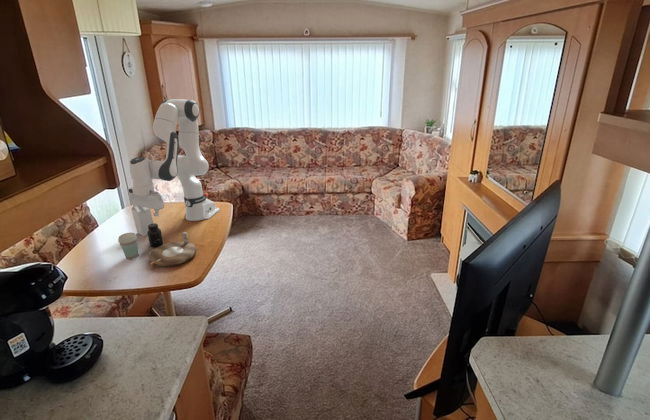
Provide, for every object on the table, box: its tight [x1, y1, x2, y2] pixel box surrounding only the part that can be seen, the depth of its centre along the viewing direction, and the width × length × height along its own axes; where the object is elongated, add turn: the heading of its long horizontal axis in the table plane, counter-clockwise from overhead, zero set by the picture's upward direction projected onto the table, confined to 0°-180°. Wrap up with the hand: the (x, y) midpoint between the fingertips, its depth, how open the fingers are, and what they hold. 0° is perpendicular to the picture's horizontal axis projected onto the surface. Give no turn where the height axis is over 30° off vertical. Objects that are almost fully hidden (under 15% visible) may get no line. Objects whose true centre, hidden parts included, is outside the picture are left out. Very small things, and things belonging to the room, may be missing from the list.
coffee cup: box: [117, 232, 140, 260], centre depth 183 cm, size 8×8×12 cm
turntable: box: [148, 231, 197, 267], centre depth 182 cm, size 22×22×8 cm
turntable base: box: [149, 261, 187, 271], centre depth 182 cm, size 22×18×4 cm
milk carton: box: [131, 205, 154, 237], centre depth 207 cm, size 7×7×19 cm
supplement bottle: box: [146, 222, 164, 249], centre depth 194 cm, size 7×7×12 cm
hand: (149, 214), depth 189 cm, fingers open, 8 cm apart
